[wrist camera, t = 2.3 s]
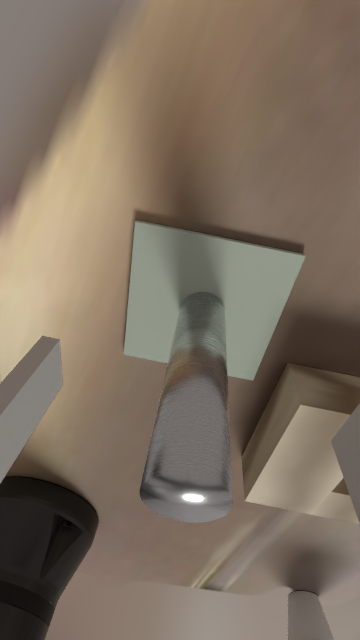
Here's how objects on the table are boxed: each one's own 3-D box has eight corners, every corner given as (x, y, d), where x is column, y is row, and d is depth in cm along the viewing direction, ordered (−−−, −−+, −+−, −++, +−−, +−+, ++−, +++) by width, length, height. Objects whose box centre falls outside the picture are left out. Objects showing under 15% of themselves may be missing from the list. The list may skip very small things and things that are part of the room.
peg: (176, 325, 20) (135, 512, 10) (184, 287, 19) (144, 463, 9) (218, 334, 20) (219, 529, 10) (230, 296, 19) (244, 484, 9)
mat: (125, 351, 23) (123, 354, 22) (136, 219, 17) (134, 221, 17) (252, 377, 23) (253, 380, 22) (303, 253, 17) (305, 256, 17)
